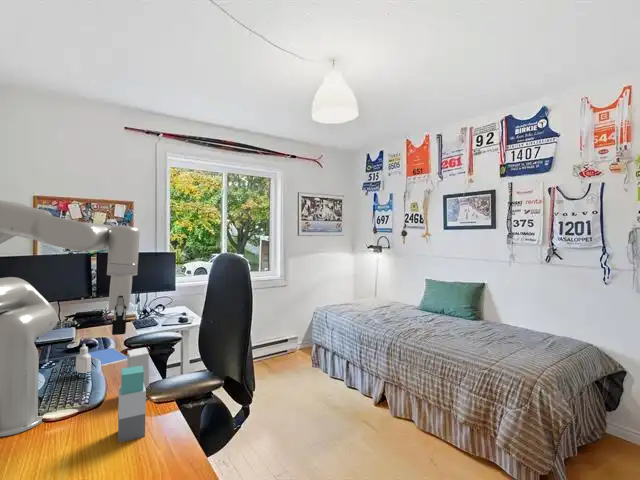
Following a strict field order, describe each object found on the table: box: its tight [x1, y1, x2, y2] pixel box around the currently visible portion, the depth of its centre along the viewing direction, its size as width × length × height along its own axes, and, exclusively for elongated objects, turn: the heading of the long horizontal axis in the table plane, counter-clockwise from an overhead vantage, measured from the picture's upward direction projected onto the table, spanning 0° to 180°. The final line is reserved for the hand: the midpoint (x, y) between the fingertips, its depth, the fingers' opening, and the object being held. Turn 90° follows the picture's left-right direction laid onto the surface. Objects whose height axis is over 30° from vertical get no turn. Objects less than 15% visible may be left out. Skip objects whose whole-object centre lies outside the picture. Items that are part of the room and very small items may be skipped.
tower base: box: [117, 410, 146, 444], centre depth 92 cm, size 6×6×6 cm
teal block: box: [120, 366, 144, 395], centre depth 92 cm, size 5×5×5 cm
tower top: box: [117, 385, 147, 419], centre depth 92 cm, size 6×6×6 cm
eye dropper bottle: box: [75, 343, 92, 373], centre depth 128 cm, size 4×6×12 cm
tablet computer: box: [88, 348, 127, 367], centre depth 148 cm, size 19×13×1 cm, turn 50°
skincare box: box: [126, 347, 150, 400], centre depth 114 cm, size 8×6×15 cm
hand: (119, 329), depth 99 cm, fingers open, 9 cm apart
